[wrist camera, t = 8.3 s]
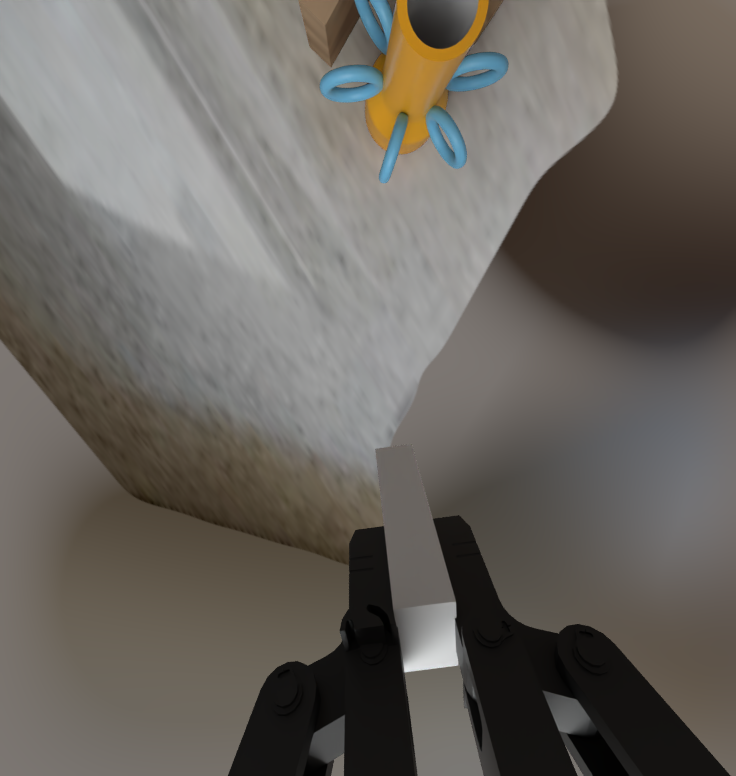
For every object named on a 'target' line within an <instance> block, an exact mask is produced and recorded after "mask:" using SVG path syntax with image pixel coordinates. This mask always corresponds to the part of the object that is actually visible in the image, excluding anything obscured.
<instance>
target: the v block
mask: <svg viewBox="0 0 736 776" xmlns="http://www.w3.org/2000/svg"><path fill="white" fill-rule="evenodd" d="M368 1H369V0H368ZM502 2H503V0H489V4H488V10H487V15H486V18H485V22H484V24H483V27H482V29H481V31H480V33H479V35H478V37H477V38H476V40H475V42H474V43H473V44H475V43H476V41H477V40H478V38H479V37H480V35H481V34H482V32H483V31H484V29H485V28H486V26H487V25H488V23H489V22H490V20H491V19H492V17H493V16H494V14H495V13H496V11H497V10H498V8H499V6H500V5H501V3H502ZM299 4H300V8H301V13H302V17H303V21H304V25H305V29H306V33H307V37H308V42H309V46H310V48H311V49H313V50H314V51H315V52H316V53H317V54H318V55H319V56H320V57H321V58H322V59H323V60H324V61H325V62H326V63H327V64H328V65H329V66H330V67H332V65H333V63H334V61H335V60H336V58H337V56H338V54H339V53H340V51H341V49H342V47H343V45H344V44H345V42H346V40H347V38H348V37H349V35H350V33H351V31H352V29H353V28H354V26H355V24H356V22H357V21H358V19H359V17H360V15H359V13H358V10H357V7H356V4H355V1H354V0H299Z"/></svg>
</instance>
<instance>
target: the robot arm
mask: <svg viewBox="0 0 736 776" xmlns="http://www.w3.org/2000/svg"><path fill="white" fill-rule="evenodd" d="M375 450H376V459H377V468H378V477H379V486H380V495H381V504H382V513H383V522H384V526H382V527H375V528H367V529H359V530H355V532H354V534H353V537H352V539H351V541H350V543H349V560H350V561H349V572H350V574H349V609H348V611H347V612H346V614H345V616H344V617H343V619H342V622H341V628H340V634H341V637H342V642H341V644H340V645H339V646H338V647H337V648H336V649H335V651H333V652H332V653H330V654H329V655H327V656H326V657H324V658H322V659H320V660H318V661H316V662H314V663H312V664H311V665H309V666H307V665H305V664H303V663H301V662H298V661H295V662H287V663H285V664H283V665H281V666H279V667H277V668H276V669H275V670H274V671H273V672H272V673H271V674H270V675H269V676H268V677H267V679H266V681H265V683H264V685H263V687H262V688H261V690H260V693H259V696H258V698H257V701H256V703H255V706H254V709H253V711H252V714H251V716H250V719H249V722H248V724H247V727H246V730H245V732H244V735H243V738H242V740H241V743H240V745H239V748H238V750H237V753H236V756H235V758H234V761H233V764H232V767H231V769H230V772H229V774H228V776H331V773H332V768H333V763H334V759H335V758H337V757H338V756H340V755H342V754H343V753H344V776H417V767H416V760H415V751H414V743H413V735H412V727H411V719H410V711H409V703H408V696H407V689H406V681H405V673H404V672H410V671H417V670H426V669H434V668H441V667H449V666H457V665H458V661H459V665H460V669H461V673H462V677H463V694H464V696H463V697H464V708H468V712H469V716H470V720H471V724H472V729H473V733H474V737H475V741H476V745H477V749H478V753H479V758H480V762H481V766H482V770H483V774H484V776H577V773H576V771H575V768H574V766H573V764H572V761H571V759H570V756H569V754H568V751H567V749H568V750H569V752H570V754H571V755H572V757H573V758H574V760H575V762H576V763H577V765H578V767H579V768H580V770H581V772H582V773H583V775H584V776H730V775H729V773H728V772H727V771H726V770H725V769H724V768H723V767H722V765H721V764H720V763H719V762H718V761H717V760H716V759H715V758H714V756H713V755H712V754H711V753H710V752H709V751H708V750H707V748H706V747H705V746H704V745H703V744H702V743H701V742H700V740H699V739H698V738H697V737H696V736H695V735H694V734H693V733H692V731H691V730H690V729H689V728H688V727H687V726H686V725H685V723H684V722H683V721H682V720H681V719H680V718H679V717H678V715H677V714H676V713H675V712H674V711H673V710H672V709H671V708H670V706H669V705H668V704H667V703H666V702H665V701H664V699H663V698H662V697H661V696H660V695H659V694H658V693H657V692H656V691H655V689H654V688H653V687H652V686H651V685H650V684H649V682H648V681H647V680H646V679H645V678H644V677H643V676H642V674H641V673H640V672H639V671H638V670H637V669H636V668H635V667H634V665H633V664H632V663H631V662H630V661H629V660H628V659H627V657H626V656H625V655H624V654H623V653H622V652H621V651H620V649H619V648H618V647H617V646H616V645H615V644H614V643H613V642H612V641H611V640H610V639H609V638H607V637H606V636H605V635H604V634H603V633H601V632H599V631H597V630H595V629H594V628H592V627H589V626H585V625H580V624H575V625H569V626H566V627H565V628H564V629H563V630H561V631H560V633H559V634H558V633H553V632H549V631H544V630H539V629H535V628H532V627H529V626H526V625H524V624H522V623H520V622H518V621H517V620H515V619H514V618H513V617H512V616H511V615H509V614H508V612H507V611H506V610H505V609H504V608H503V606H502V604H501V602H500V600H499V598H498V595H497V593H496V590H495V588H494V586H493V583H492V581H491V578H490V576H489V573H488V570H487V568H486V566H485V563H484V561H483V558H482V556H481V553H480V550H479V548H478V545H477V544H476V541H475V538H474V535H473V533H472V530H471V528H470V526H469V525H468V524H467V523H466V522H465V521H464V520H463V519H462V518H461V517H460V516H459V515H458V516H451V517H443V518H435V519H433V518H432V515H431V511H430V508H429V504H428V500H427V497H426V493H425V490H424V486H423V482H422V479H421V475H420V472H419V468H418V465H417V461H416V458H415V454H414V450H413V447H412V444H408V445H401V446H393V447H386V448H378V449H375ZM565 745H566V747H567V749H566V747H565Z"/></svg>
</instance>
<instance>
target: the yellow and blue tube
mask: <svg viewBox="0 0 736 776" xmlns="http://www.w3.org/2000/svg"><path fill="white" fill-rule="evenodd" d="M354 1H355V4H356V7H357V10H358V13H359V15H360V17H361V20H362V22H363V24H364V26H365V28H366V30H367V32H368V34H369V35H370V37H371V39H372V40H373V42H374V43H375V45H376V46H377V47H378V49H379V50H380V51H381V52H382V54H381V55H380V56H379V57H378V59H377V60H376V62H375V63H374V65H373V67H371V66H367V65H348V66H343V67H339V68H336V69H334V70H331V71H330V72H328V73H327V74H325V75H324V76H323V78H322V79H321V82H320V90H321V93H322V94H323V96H324V97H326V98H327V99H329V100H332V101H336V102H357V101H363V100H366V101H365V118H366V123H367V127H368V130H369V132H370V134H371V136H372V138H373V139H374V141H375V142H376V143H377V144H378V145H379V146H380V147H381V148H382V149H384V150H385V151H386V154H385V157H384V160H383V164H382V167H381V170H380V174H379V180H380V182H381V183H387V182H388V181H389V179H390V176H391V174H392V171H393V168H394V165H395V162H396V159H397V156H398V154H408V153H411V152H413V151H415V150H417V149H418V148H420V147H421V146H422V145H423V144H424V143H425V142H426V141H427V140H428V138H429V137H431V140H432V142H433V144H434V145H435V147H436V149H437V151H438V152H439V154H440V155H441V156H442V158H443V159H444V160H445V161H446V162H447V163H448V164H449V165H450V166H451V167H453V168H456V169H459V168H461V167H463V166H464V165H465V163H466V160H467V151H466V146H465V143H464V140H463V137H462V135H461V133H460V131H459V129H458V127H457V125H456V123H455V122H454V120H453V119H452V118H451V116H450V115H449V114H448V113H447V112H446V111H445V110H446V107H447V102H448V92H449V90H450V91H458V92H460V91H470V90H476V89H480V88H483V87H486V86H489V85H491V84H493V83H495V82H497V81H498V80H500V79H501V78H502V77H503V76H504V75H505V74H506V72H507V70H508V60H507V58H506V57H505V56H504V55H503V54H500V53H496V52H482V53H476V54H471V55H468V56H466V54H467V53H468V51H469V50H470V48H471V46H472V45H473V43H474V42H475V40H476V38H477V37H478V35H479V33H480V31H481V29H482V27H483V24H484V22H485V18H486V15H487V10H488V4H489V0H396V3H395V9H394V15H393V13H392V11H391V8H390V6H389V4H388V2H387V0H370V2H371V4H372V5H373V7H374V9H375V11H376V13H377V15H378V17H379V20H380V22H381V24H382V27H383V30H384V33H385V34H384V33H383V31H382V30H381V28H380V26H379V25H378V23H377V21H376V19H375V17H374V15H373V13H372V10H371V8H370V6H369V3H368V0H354ZM482 69H491V70H489V71H487V72H484V73H481V74H478V75H474V76H468V77H457V76H459V75H461V74H464V73H467V72H471V71H475V70H482ZM349 82H367V84H366V85H363V86H360V87H354V88H339V87H336V86H338V85H341V84H344V83H349ZM438 125H440V126H441V128H442V129H443V130H444V132H445V133H446V135H447V137H448V139H449V141H450V143H451V145H452V147H453V150H454V152H453V151H452V150H451V149H450V147H449V146H448V144H447V143H446V141H445V139H444V138H443V136H442V133H441V131H440V129H439V126H438Z"/></svg>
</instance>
